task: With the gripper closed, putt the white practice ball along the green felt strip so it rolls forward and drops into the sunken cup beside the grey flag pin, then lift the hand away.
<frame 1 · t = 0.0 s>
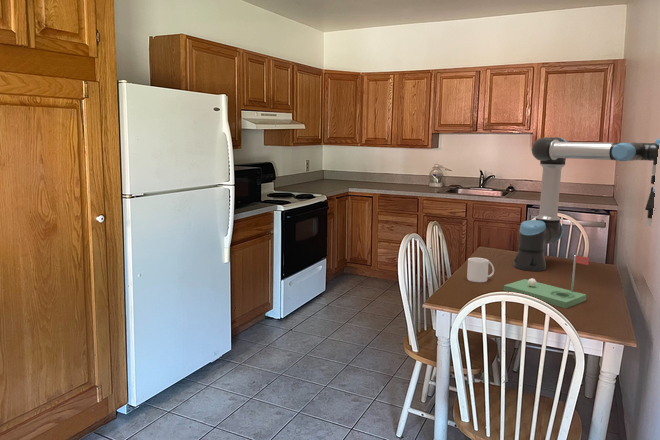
hand: (656, 224, 214), 28 cm above the table, fingers open, 13 cm apart
green: (543, 295, 205), on the table
ball: (532, 282, 209), point 4 cm above the table, touching green
mug: (480, 280, 227), on the table
flag pin: (571, 297, 203), resting on green
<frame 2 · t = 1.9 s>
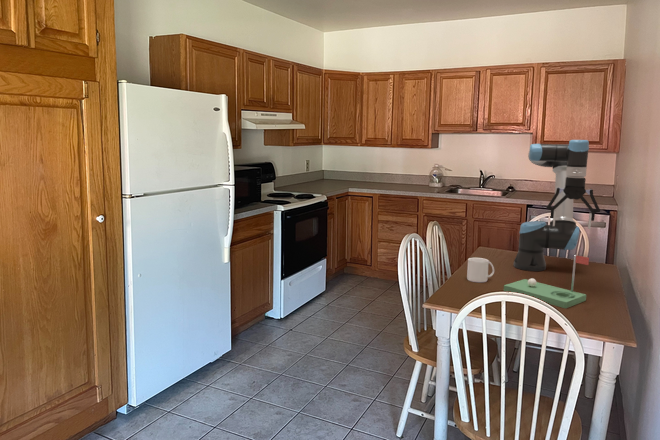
hand: (571, 227, 211), 27 cm above the table, fingers open, 13 cm apart
nothing on the table moved.
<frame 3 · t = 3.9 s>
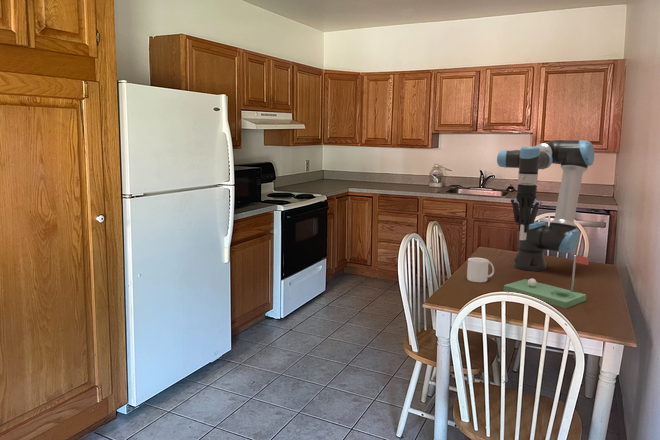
hand: (522, 239, 210), 22 cm above the table, fingers closed
nothing on the table moved.
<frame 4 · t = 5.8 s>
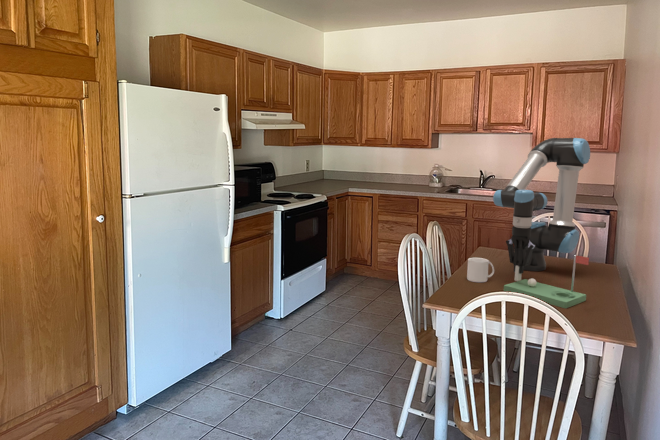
hand: (517, 280, 214), 4 cm above the table, fingers closed
nothing on the table moved.
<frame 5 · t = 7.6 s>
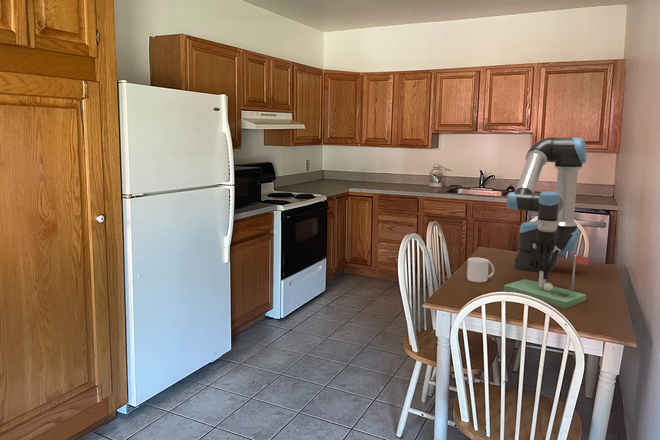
hand: (541, 286, 205), 4 cm above the table, fingers closed
ball: (548, 286, 203), point 4 cm above the table, tilted 122°, touching green
everything else where it was.
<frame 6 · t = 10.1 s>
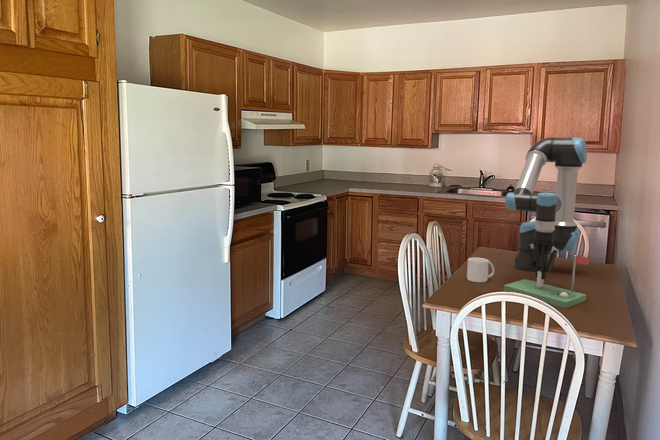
hand: (539, 286, 206), 4 cm above the table, fingers closed
ball: (563, 296, 199), point 2 cm above the table, tilted 112°
everything else where it was.
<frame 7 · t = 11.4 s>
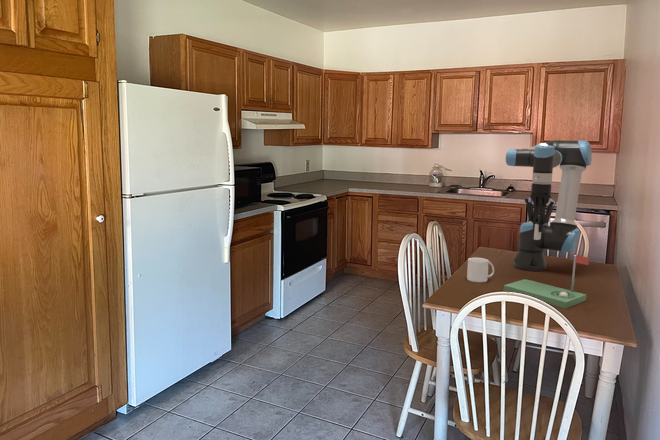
hand: (537, 239, 208), 22 cm above the table, fingers closed
ball: (563, 296, 199), point 2 cm above the table, tilted 102°
everything else where it was.
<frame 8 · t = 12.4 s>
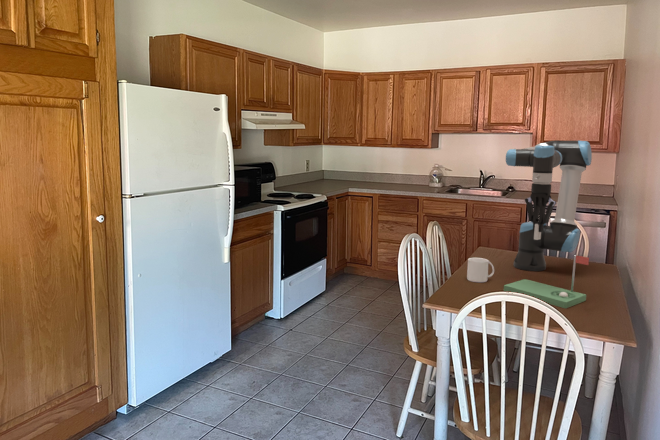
hand: (537, 239, 208), 22 cm above the table, fingers closed
nothing on the table moved.
at the end: ball 0.7 cm from the target spot in the green, point 1.7 cm above the green's base; ball touching table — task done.
